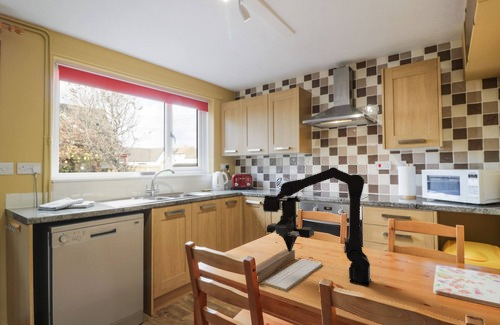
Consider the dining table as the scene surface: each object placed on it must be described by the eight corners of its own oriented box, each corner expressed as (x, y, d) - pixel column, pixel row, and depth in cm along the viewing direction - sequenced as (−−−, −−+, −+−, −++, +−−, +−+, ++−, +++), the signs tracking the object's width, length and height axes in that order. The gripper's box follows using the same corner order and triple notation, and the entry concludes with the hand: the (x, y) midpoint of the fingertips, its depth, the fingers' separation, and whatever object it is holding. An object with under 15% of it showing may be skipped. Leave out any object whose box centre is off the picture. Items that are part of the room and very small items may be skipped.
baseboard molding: (257, 284, 96) (285, 293, 88) (257, 276, 96) (285, 284, 89) (298, 260, 120) (322, 266, 113) (298, 254, 120) (322, 259, 113)
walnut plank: (294, 258, 121) (294, 250, 121) (258, 283, 95) (257, 272, 95) (285, 256, 124) (285, 248, 124) (247, 280, 98) (246, 270, 98)
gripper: (259, 213, 103) (259, 253, 102) (302, 217, 92) (303, 261, 92) (272, 209, 112) (273, 246, 112) (314, 213, 102) (315, 253, 101)
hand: (289, 251), depth 104 cm, fingers closed
